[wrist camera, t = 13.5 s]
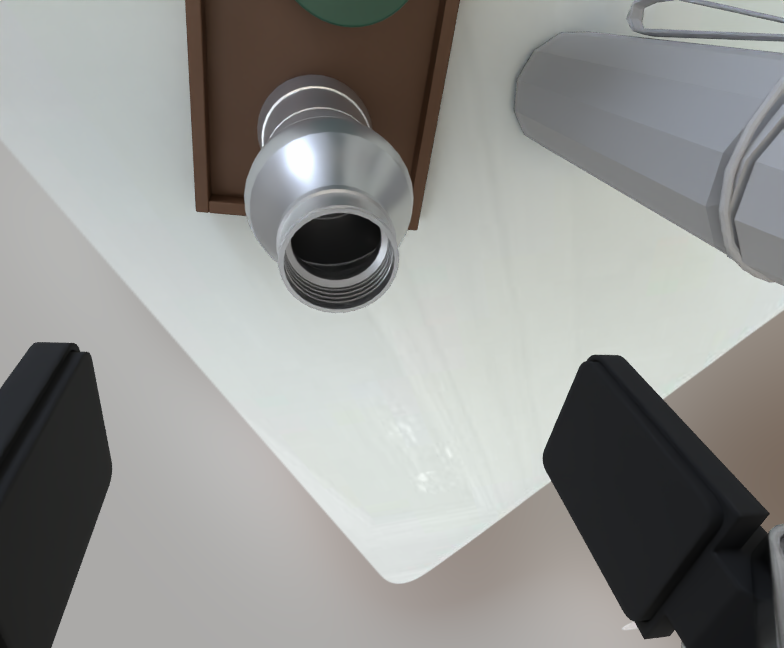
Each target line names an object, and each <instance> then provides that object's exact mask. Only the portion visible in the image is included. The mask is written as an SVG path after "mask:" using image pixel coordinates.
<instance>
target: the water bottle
mask: <svg viewBox="0 0 784 648" xmlns="http://www.w3.org/2000/svg"><path fill="white" fill-rule="evenodd" d="M665 1H672V0H635V1H634V2H633V4H632V6H631V9H630V11H629V13H628V16H627V18H626V19H627V21H628V23H629V26H630V28H631V29H632V30H633V31H634V32H637V33H640V34H644V35H649V36H654V37H676V38H703V39H730V40H757V41H784V34H763V33H739V32H714V31H690V30H665V29H644V26H643V23H642V19H643V14H644V8H645V7H648V6H650V5H652V4H655V3H657V2H665ZM680 1H684V2H689V3H694V4H698V5H703V6H707V7H712V8H716V9H721V10H725V11H730V12H735V13H739V14H744V15H748V16H753V17H757V18H762V19H767V20H771V21H776V22H780V23H784V18H781V17H777V16H772V15H768V14H763V13H759V12H754V11H750V10H745V9H741V8H736V7H732V6H727V5H723V4H718V3H714V2H709V1H705V0H680ZM514 111H515V114H516V116H517V119H518V121H519V123H520V126H521V128H522V130H523V133H524V135H526V136H527V137H529V138H531V139H532V140H534V141H535V142H537V143H539V144H540V145H542V146H543V147H545V148H547V149H548V150H550V151H552V152H554V153H555V154H557V155H559V156H560V157H562V158H564V159H565V160H567V161H569V162H571V163H572V164H574V165H576V166H577V167H579V168H581V169H582V170H584V171H586V172H588V173H589V174H591V175H593V176H594V177H596V178H598V179H599V180H601V181H603V182H604V183H606V184H608V185H610V186H611V187H613V188H615V189H616V190H618V191H620V192H621V193H623V194H625V195H627V196H628V197H630V198H632V199H633V200H635V201H637V202H638V203H640V204H642V205H643V206H645V207H647V208H649V209H650V210H652V211H654V212H655V213H657V214H659V215H660V216H662V217H664V218H666V219H667V220H669V221H671V222H672V223H674V224H676V225H677V226H679V227H681V228H683V229H684V230H686V231H688V232H689V233H691V234H693V235H694V236H696V237H698V238H699V239H701V240H703V241H705V242H706V243H708V244H710V245H711V246H713V247H715V248H716V249H718V250H720V251H722V252H723V253H725V254H727V257H729V258H731V259H732V260H734V261H735V262H736V263H737V264H738V265H739V266H740V267H741V268H742V269H743V270H744V271H746V272H748V273H750V274H751V275H753V276H754V277H756V278H759V279H762V280H765V281H767V282H776V283H778V284H781V285H783V286H784V53H777V52H768V51H759V50H750V49H741V48H732V47H723V46H714V45H705V44H696V43H687V42H678V41H669V40H660V39H651V38H642V37H633V36H624V35H615V34H606V33H597V32H561V33H559V34H558V35H556V36H555V37H553V38H552V39H550V40H549V41H547V42H546V43H545V44H543V45H542V46H540V47H539V48H537V49H536V50H534V52H533V53H532V55H531V57H530V58H529V60H528V62H527V63H526V65H525V67H524V69H523V70H522V72H521V74H520V75H519V77H518V79H517V86H516V95H515V105H514Z"/></svg>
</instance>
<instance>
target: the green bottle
mask: <svg viewBox="0 0 784 648" xmlns="http://www.w3.org/2000/svg"><path fill="white" fill-rule="evenodd" d="M295 1H296V2H297V3H298V4H299V5H300V6H301V7H302V8H304V9H305V10H306V11H308V12H309V13H310V14H312V15H313V16H315V17H317V18H319V19H320V20H323V21H325V22H327V23H330V24H333V25H337V26H341V27H364V26H369V25H373V24H376V23H378V22H381V21H383V20H385V19H387V18H388V17H390V16H392V15H393V14H394V13H396V12H397V11H398V10H400V9H401V8H402V7H403V6H404V5H405V4H406V3H407V2H408V0H295Z"/></svg>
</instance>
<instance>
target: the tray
mask: <svg viewBox="0 0 784 648" xmlns="http://www.w3.org/2000/svg"><path fill="white" fill-rule="evenodd" d="M459 3H460V0H408V2H407V3H406V4H405V5H404V6H403V7H402V8H401V9H400V10H398V11H397V12H396V13H394V14H393V15H392V16H390V17H388V18H387V19H385V20H383V21H381V22H378V23H376V24H373V25H369V26H364V27H341V26H337V25H333V24H330V23H327V22H325V21H323V20H320V19H319V18H317V17H315V16H313V15H312V14H310V13H309V12H308V11H306V10H305V9H304V8H302V7H301V6H300V5H299V4H298V3H297V2H296V1H295V0H185V5H186V25H187V45H188V65H189V84H190V104H191V124H192V143H193V163H194V183H195V202H196V211H197V212H206V213H208V212H210V213H218V214H230V215H242V216H246V212H245V201H244V192H245V185H246V179H247V177H248V174H249V171H250V169H251V166H252V164H253V162H254V160H255V158H256V156H257V155H258V153H259V152H260V150H261V149H260V145H259V141H258V133H257V125H258V118H259V114H260V111H261V109H262V106H263V104H264V102H265V101H266V99H267V98H268V96H269V95H270V94H271V93H272V92H273V91H274V90H275V89H276V88H277V87H278V86H279V85H281V84H283V83H284V82H286V81H287V80H290V79H292V78H295V77H298V76H304V75H323V76H327V77H330V78H334V79H336V80H338V81H340V82H342V83H344V84H345V85H347V86H348V87H349V88H351V89H352V90H353V91H354V92H355V93H356V94H357V95H358V96H359V98H360V99H361V100H362V102H363V103H364V105H365V107H366V108H367V110H368V113H369V116H370V119H371V124H372V130H374V131H375V132H376V133H378V134H379V135H380V136H382V137H383V138H384V139H385V140H386V141H387V142H389V144H390V145H391V146H392V147H393V148H394V149H395V150H396V151H397V153H398V154H399V155H400V157H401V158H402V160H403V162H404V164H405V165H406V167H407V169H408V172H409V176H410V179H411V182H412V188H413V198H414V199H413V208H412V215H411V220H410V223H409V226H408V230H417V228H418V223H419V217H420V212H421V207H422V201H423V196H424V190H425V185H426V180H427V174H428V169H429V164H430V158H431V153H432V148H433V142H434V137H435V131H436V126H437V121H438V115H439V110H440V105H441V99H442V94H443V89H444V83H445V78H446V72H447V67H448V62H449V56H450V51H451V46H452V40H453V35H454V30H455V24H456V19H457V13H458V8H459Z"/></svg>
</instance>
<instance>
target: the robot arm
mask: <svg viewBox="0 0 784 648" xmlns="http://www.w3.org/2000/svg"><path fill="white" fill-rule="evenodd" d="M543 464H544V468H545V470H546V472H547V474H548V476H549V477H550V479H551V481H552V483H553V485H554V486H555V488H556V490H557V492H558V493H559V496H560V497H561V499H562V501H563V502H564V505H565V506H566V508H567V510H568V512H569V514H570V516H571V517H572V519H573V521H574V523H575V525H576V526H577V528H578V530H579V532H580V534H581V535H582V537H583V539H584V541H585V543H586V545H587V546H588V548H589V550H590V552H591V553H592V555H593V557H594V559H595V561H596V563H597V564H598V566H599V568H600V570H601V572H602V574H603V575H604V577H605V579H606V581H607V583H608V585H609V586H610V588H611V590H612V592H613V594H614V595H615V597H616V599H617V601H618V603H619V604H620V606H621V608H622V610H623V612H624V613H625V614H626V616H627V617H628V618H629V619H630V620H632V621H635V623H636V625H637V627H638V629H639V630H640V632H641V634H642V636H643V638H644V639H650V638H659V637H666V636H670V635H671V634H672V633H673V631H674V630H675V631H676V632H677V634H678V635H679V637H680V638H681V640H682V642H681V648H784V524H781V525H776V526H775V527H774V528H772V529H771V530H770V531H769V533H768V534H767V532H766V531H765V530H764V529H763V528H762V527H761V526H760V525H761V524H762V523H763V521H764V520H765V519H766V518H767V516H768V515H769V512H768V511H767V510H766V509H765V508H764V507H763V506H762V505H761V504H760V503H759V502H758V501H757V500H756V498H755V497H754V496H753V495H752V494H751V493H750V492H749V491H748V490H747V489H746V488H745V487H744V486H743V485H742V484H741V482H740V481H739V480H738V479H737V478H736V477H735V476H734V475H733V474H732V473H731V472H730V471H729V470H728V469H727V468H726V466H725V465H724V464H723V463H722V462H721V461H720V460H719V459H718V458H717V457H716V456H715V455H714V454H713V453H712V451H710V449H709V448H708V447H707V446H706V445H705V444H704V443H703V442H702V441H701V440H700V439H699V438H698V437H697V435H696V434H695V433H693V431H692V430H691V429H690V428H689V427H688V426H687V425H686V424H685V423H684V422H683V421H682V419H680V418H679V416H678V415H677V414H676V413H675V412H674V411H673V410H672V409H671V408H670V407H669V406H668V405H667V403H666V402H664V400H663V399H662V398H661V397H660V396H659V395H658V394H657V393H656V392H655V391H654V390H653V388H652V387H651V386H650V385H649V384H648V383H647V382H646V381H645V380H644V379H643V378H642V377H641V376H640V375H639V374H638V372H637V371H636V370H635V369H634V368H633V367H632V366H631V365H630V364H629V363H628V362H627V361H626V360H625V359H624V358H623V357H621V356H618V355H592V356H591V357H589V358H588V359H587V361H586V362H583V363H582V364H581V365H580V367H579V369H578V372H577V374H576V376H575V379H574V381H573V383H572V386H571V388H570V390H569V393H568V395H567V398H566V400H565V402H564V405H563V407H562V409H561V412H560V414H559V416H558V419H557V421H556V423H555V426H554V428H553V431H552V433H551V435H550V438H549V440H548V442H547V445H546V447H545V449H544V452H543ZM111 475H112V462H111V456H110V451H109V446H108V441H107V436H106V430H105V426H104V420H103V415H102V409H101V404H100V399H99V393H98V389H97V383H96V378H95V372H94V367H93V362H92V358H91V355H90V353H88V352H80V350H79V347H78V346H77V344H75V343H50V342H37V343H34V344H33V345H32V346H31V347H30V348H29V349H28V351H27V352H26V354H25V355H24V356H23V358H22V359H21V361H20V362H19V363H18V365H17V366H16V368H15V369H14V370H13V372H12V373H11V374H10V376H9V377H8V379H7V380H6V381H5V383H4V384H3V386H2V387H1V389H0V648H51V647H52V644H53V641H54V638H55V636H56V633H57V630H58V627H59V624H60V621H61V619H62V616H63V613H64V610H65V607H66V605H67V602H68V599H69V596H70V594H71V591H72V588H73V585H74V582H75V580H76V577H77V574H78V571H79V569H80V566H81V563H82V560H83V557H84V554H85V552H86V549H87V546H88V543H89V540H90V538H91V535H92V532H93V529H94V527H95V524H96V521H97V518H98V515H99V513H100V510H101V507H102V504H103V501H104V499H105V496H106V493H107V490H108V487H109V484H110V481H111Z"/></svg>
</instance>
